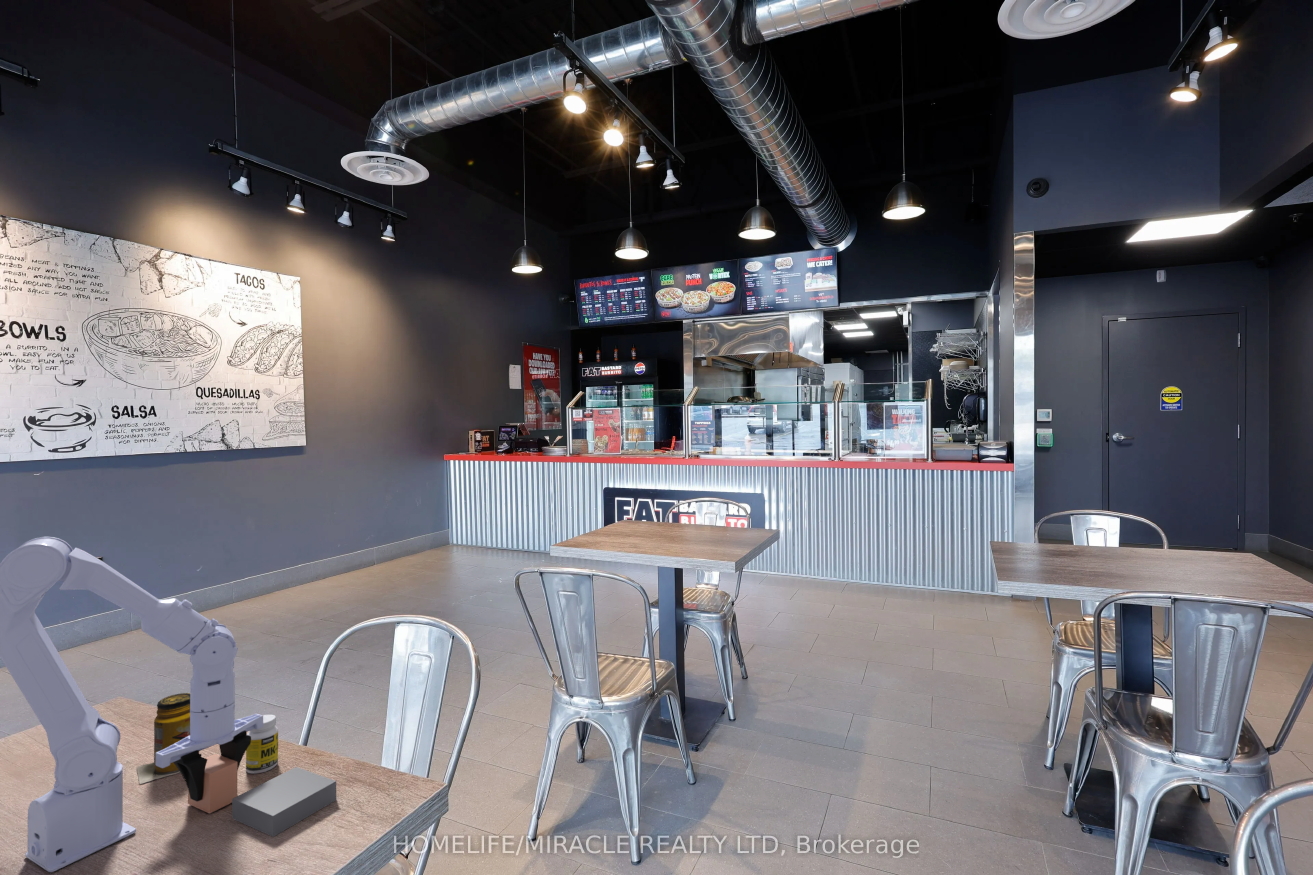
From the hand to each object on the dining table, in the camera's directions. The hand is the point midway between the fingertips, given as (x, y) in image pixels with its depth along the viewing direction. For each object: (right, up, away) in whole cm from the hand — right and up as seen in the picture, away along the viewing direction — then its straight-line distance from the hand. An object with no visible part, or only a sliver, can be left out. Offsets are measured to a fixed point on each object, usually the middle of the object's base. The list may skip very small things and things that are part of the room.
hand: (212, 791), depth 95 cm
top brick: (0, -2, 0) cm, 2 cm away
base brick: (+13, -2, -2) cm, 13 cm away
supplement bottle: (+1, -2, +11) cm, 11 cm away
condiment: (-16, -3, +11) cm, 19 cm away
